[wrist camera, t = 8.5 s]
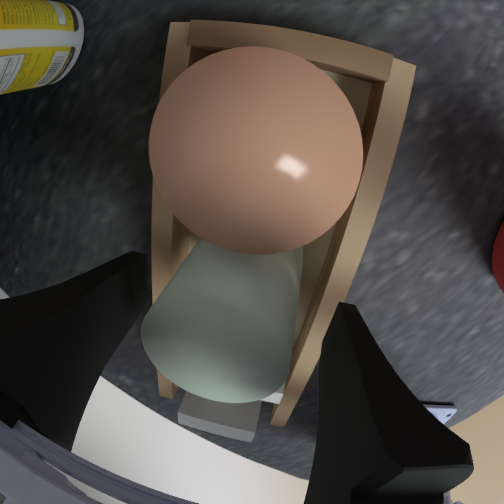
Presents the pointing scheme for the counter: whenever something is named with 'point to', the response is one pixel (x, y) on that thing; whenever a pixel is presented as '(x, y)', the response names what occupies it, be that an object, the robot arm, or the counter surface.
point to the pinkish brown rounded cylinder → (256, 150)
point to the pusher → (224, 415)
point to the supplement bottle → (37, 42)
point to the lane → (359, 210)
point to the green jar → (226, 323)
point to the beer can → (499, 258)
